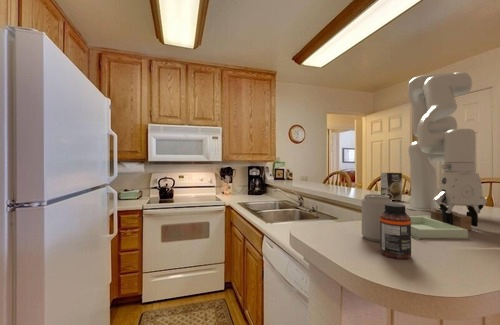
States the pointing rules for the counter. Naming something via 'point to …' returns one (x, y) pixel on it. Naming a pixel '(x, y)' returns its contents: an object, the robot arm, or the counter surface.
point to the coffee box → (391, 185)
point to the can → (373, 215)
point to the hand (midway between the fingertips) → (459, 224)
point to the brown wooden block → (458, 219)
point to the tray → (435, 229)
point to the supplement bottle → (395, 231)
